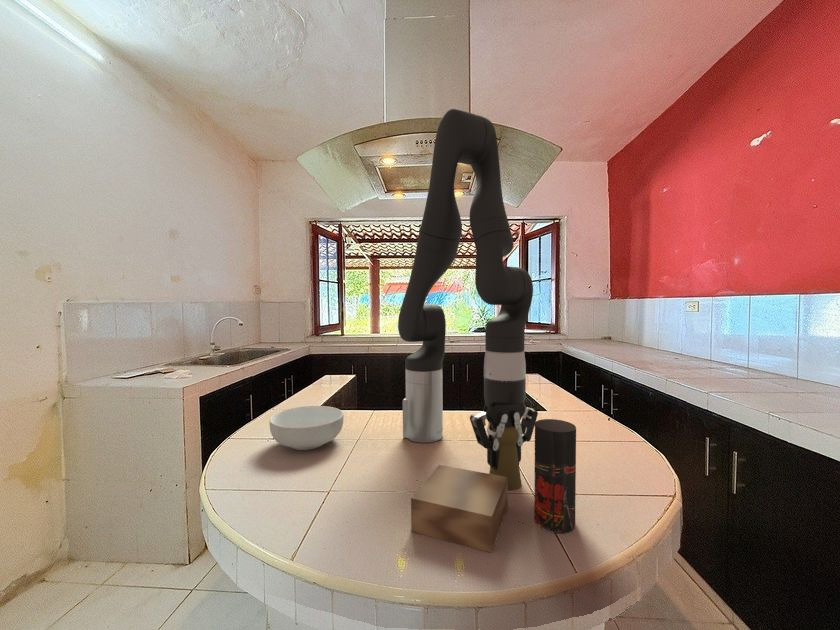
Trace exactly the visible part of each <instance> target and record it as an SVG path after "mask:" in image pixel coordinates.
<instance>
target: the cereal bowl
mask: <svg viewBox="0 0 840 630" xmlns="http://www.w3.org/2000/svg"><path fill="white" fill-rule="evenodd" d="M344 414H345V413H344V412H343V411H342V410H341V409H339V408H336V407H333V406H325V405H305V406H297V407H291V408H288V409H283V410H281V411H278V412H276V413H275V414H272V415H271V417H270V418H269V422H268V423H269V431H270V434H271V437H272V438H273V440H275V441H276V442H277V443H278V444H280V445H282V446H285V447H287V448H288V447H289V448H291V449H293V450H298V451H309V450H314V449H317V448H318V449H319V448H320V447H322V446H323V445H325V444H327V443H329V442H331V441H333V440H334V439H336V437H338V436H339V434H340V433H341V431H342V428H343V425H344V419H345V417H344Z"/></svg>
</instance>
